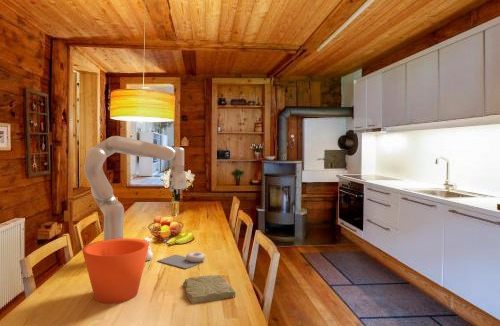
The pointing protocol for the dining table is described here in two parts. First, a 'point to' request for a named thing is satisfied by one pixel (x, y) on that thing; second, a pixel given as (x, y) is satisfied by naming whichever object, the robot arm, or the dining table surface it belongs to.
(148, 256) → the white creature statuette
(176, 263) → the rubber mat
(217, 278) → the stone slab
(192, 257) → the donut
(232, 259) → the dining table surface
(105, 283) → the flowerpot
